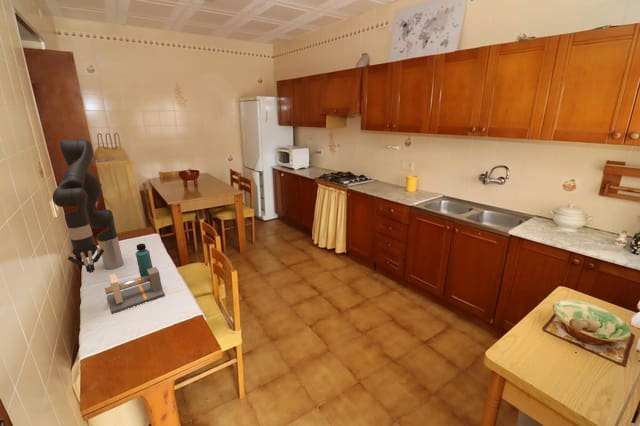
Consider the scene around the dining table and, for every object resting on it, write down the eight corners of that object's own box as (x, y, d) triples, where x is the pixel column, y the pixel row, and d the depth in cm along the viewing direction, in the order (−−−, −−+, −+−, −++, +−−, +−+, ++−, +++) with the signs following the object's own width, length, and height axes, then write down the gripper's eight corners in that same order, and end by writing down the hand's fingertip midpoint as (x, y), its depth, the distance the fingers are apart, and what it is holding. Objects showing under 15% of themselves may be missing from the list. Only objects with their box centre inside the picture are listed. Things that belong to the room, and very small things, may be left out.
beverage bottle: (157, 276, 164) (151, 243, 158) (147, 282, 159) (140, 248, 152) (148, 274, 166) (141, 241, 160) (137, 280, 161) (130, 246, 154)
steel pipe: (105, 292, 139) (104, 286, 138) (151, 278, 151) (150, 273, 150) (106, 296, 137) (105, 290, 136) (153, 281, 148) (152, 275, 147)
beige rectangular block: (113, 294, 144) (108, 275, 141) (119, 292, 146) (115, 273, 142) (116, 303, 138) (111, 283, 134) (123, 301, 139) (118, 281, 136)
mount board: (107, 298, 146) (101, 277, 142) (157, 282, 159) (153, 263, 155) (111, 314, 135) (105, 292, 131) (165, 296, 148) (161, 275, 144)
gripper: (99, 228, 133) (108, 263, 139) (60, 236, 125) (71, 273, 131) (101, 234, 127) (110, 270, 133) (60, 242, 119) (72, 280, 125)
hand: (91, 271), depth 132 cm, fingers closed
